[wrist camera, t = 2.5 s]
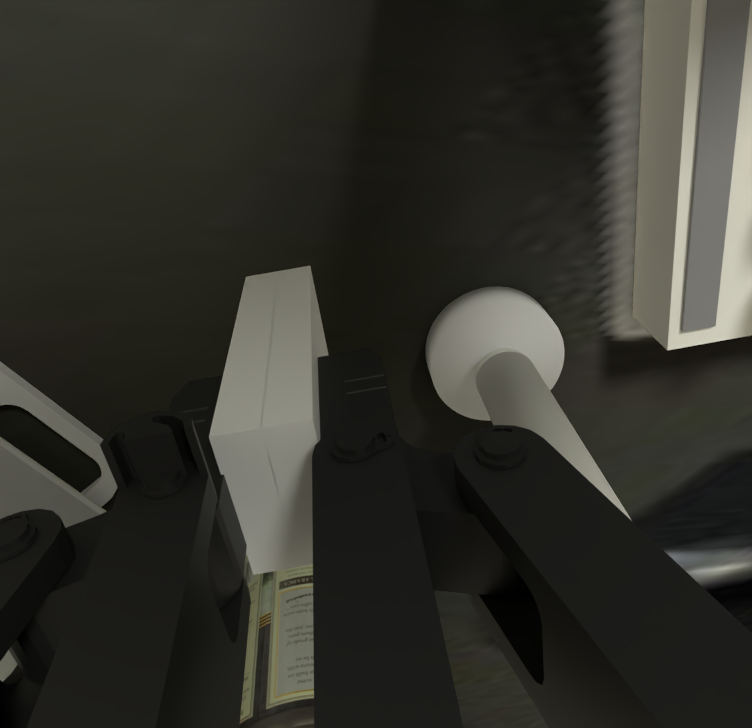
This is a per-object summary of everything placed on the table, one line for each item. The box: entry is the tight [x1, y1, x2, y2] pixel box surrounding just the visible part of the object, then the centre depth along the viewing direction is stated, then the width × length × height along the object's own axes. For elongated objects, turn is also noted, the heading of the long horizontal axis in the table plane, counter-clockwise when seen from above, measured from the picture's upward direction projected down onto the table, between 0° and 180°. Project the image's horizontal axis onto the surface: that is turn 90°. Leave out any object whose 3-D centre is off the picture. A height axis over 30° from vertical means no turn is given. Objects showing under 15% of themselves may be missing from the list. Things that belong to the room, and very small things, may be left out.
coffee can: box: [239, 553, 314, 728], centre depth 36 cm, size 10×10×14 cm
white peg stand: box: [425, 286, 632, 521], centre depth 25 cm, size 7×7×26 cm
